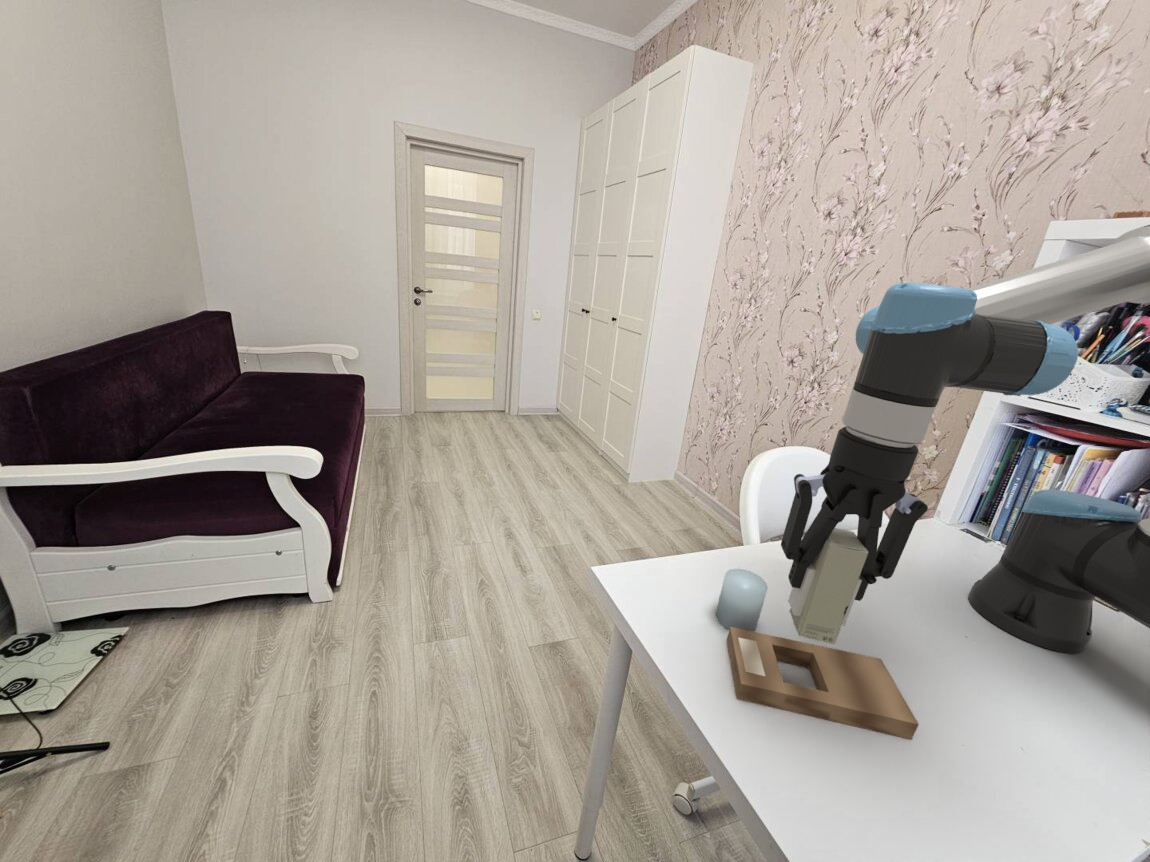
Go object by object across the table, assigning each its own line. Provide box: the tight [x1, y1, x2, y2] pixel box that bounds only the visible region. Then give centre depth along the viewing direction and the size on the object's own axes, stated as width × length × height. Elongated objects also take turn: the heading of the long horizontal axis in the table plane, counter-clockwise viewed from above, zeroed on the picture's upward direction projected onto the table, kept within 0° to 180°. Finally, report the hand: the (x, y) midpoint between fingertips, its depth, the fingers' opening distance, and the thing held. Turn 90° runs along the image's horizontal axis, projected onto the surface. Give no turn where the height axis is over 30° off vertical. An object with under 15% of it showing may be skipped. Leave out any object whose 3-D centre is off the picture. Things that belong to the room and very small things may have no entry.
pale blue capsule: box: [715, 568, 769, 632], centre depth 71 cm, size 6×6×7 cm
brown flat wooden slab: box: [726, 627, 920, 740], centre depth 61 cm, size 20×10×2 cm, turn 80°
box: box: [789, 527, 868, 645], centre depth 57 cm, size 5×4×13 cm
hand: (815, 612), depth 58 cm, fingers closed on box, 4 cm apart
